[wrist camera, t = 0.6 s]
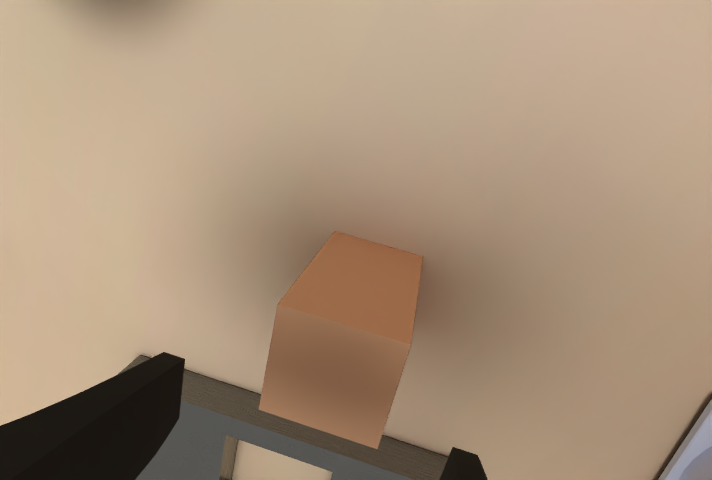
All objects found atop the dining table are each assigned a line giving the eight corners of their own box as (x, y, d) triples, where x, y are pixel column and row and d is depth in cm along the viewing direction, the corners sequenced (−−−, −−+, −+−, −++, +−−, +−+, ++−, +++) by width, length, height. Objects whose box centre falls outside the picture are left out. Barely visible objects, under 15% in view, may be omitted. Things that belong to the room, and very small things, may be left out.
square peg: (422, 256, 19) (411, 344, 12) (399, 333, 20) (377, 449, 14) (334, 231, 19) (277, 303, 13) (317, 308, 20) (258, 409, 14)
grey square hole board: (464, 462, 22) (466, 497, 20) (421, 564, 25) (419, 603, 23) (140, 354, 24) (114, 377, 22) (134, 461, 26) (111, 489, 25)
